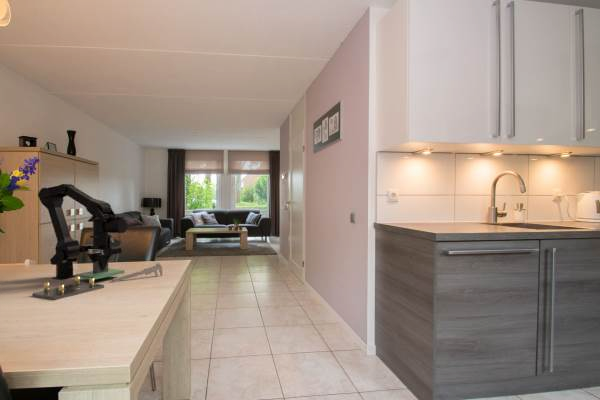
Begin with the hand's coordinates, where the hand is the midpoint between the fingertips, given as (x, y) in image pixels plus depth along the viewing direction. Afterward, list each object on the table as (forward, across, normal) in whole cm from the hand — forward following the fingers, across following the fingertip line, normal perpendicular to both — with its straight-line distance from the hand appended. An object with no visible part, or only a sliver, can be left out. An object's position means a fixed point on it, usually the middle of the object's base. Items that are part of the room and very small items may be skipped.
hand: (100, 270), depth 146 cm
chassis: (+4, -8, +18) cm, 20 cm away
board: (+2, 0, 0) cm, 2 cm away
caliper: (+4, -13, -7) cm, 15 cm away
